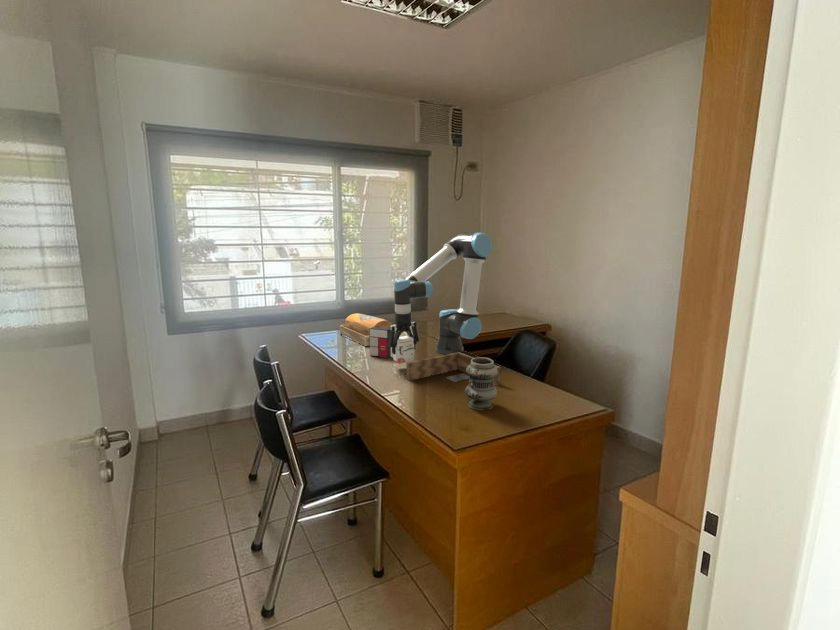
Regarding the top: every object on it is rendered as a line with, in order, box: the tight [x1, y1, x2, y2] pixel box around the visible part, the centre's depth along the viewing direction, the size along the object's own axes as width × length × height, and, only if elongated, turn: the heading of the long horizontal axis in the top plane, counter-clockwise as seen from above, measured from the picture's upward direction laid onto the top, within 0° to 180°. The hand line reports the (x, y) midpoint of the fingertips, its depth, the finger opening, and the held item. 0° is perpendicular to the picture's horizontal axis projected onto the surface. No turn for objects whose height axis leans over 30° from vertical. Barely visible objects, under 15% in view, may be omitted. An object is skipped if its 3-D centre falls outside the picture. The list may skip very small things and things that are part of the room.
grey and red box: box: [369, 327, 392, 359], centre depth 228 cm, size 11×4×15 cm, turn 68°
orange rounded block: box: [344, 312, 393, 336], centre depth 266 cm, size 30×16×14 cm, turn 41°
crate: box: [339, 324, 396, 347], centre depth 267 cm, size 22×35×6 cm, turn 35°
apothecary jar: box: [464, 356, 498, 411], centre depth 165 cm, size 12×12×18 cm
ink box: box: [393, 335, 415, 364], centre depth 208 cm, size 9×5×12 cm, turn 117°
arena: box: [405, 352, 501, 387], centre depth 191 cm, size 30×28×8 cm
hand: (404, 358), depth 209 cm, fingers closed on ink box, 9 cm apart
